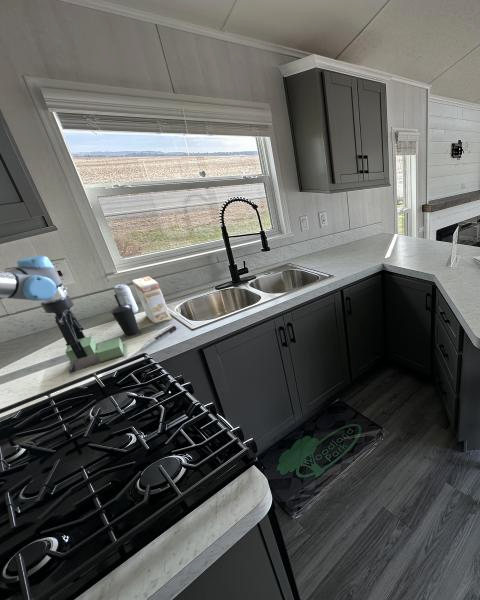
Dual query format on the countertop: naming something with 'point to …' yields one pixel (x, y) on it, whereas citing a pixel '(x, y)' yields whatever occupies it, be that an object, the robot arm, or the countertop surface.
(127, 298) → the energy drink can
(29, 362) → the countertop surface
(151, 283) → the coffeecake box
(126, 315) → the drinking cup
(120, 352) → the pad
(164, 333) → the kitchen knife
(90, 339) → the pad
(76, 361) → the backing board
